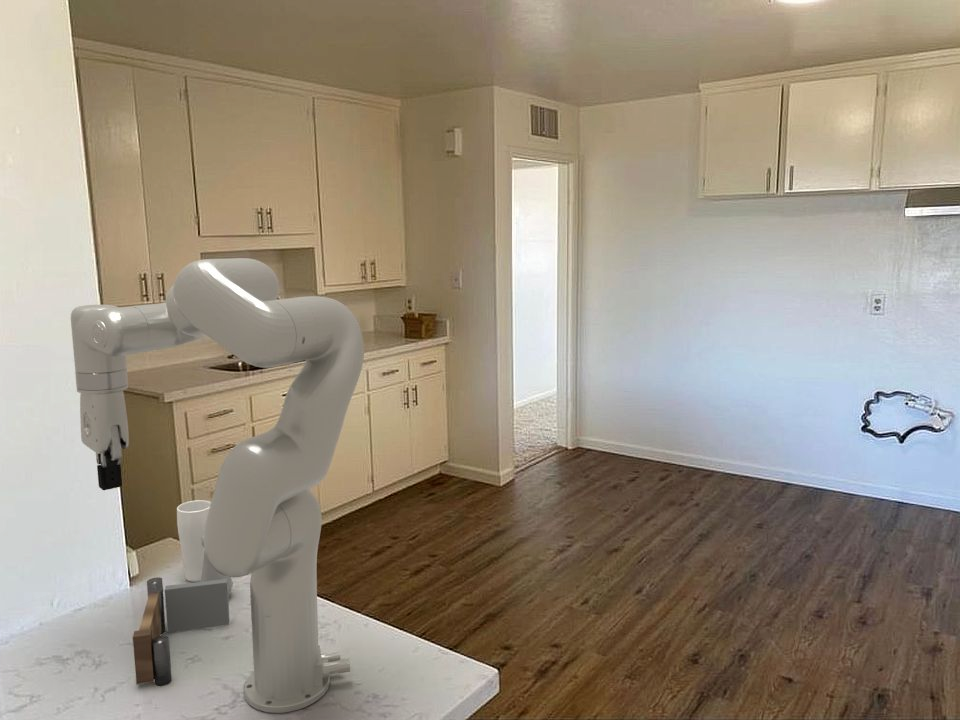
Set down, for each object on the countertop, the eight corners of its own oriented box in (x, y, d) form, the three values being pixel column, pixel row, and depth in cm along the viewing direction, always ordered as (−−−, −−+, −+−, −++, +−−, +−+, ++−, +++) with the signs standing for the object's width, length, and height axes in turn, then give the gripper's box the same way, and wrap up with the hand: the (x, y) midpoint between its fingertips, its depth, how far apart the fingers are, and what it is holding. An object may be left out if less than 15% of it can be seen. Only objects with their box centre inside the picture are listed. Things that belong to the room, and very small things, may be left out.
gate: (149, 633, 123) (146, 591, 122) (164, 631, 124) (161, 589, 122) (136, 684, 109) (132, 637, 108) (153, 681, 110) (150, 634, 108)
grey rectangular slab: (229, 620, 129) (227, 578, 127) (228, 624, 127) (226, 582, 126) (168, 628, 126) (165, 585, 125) (167, 633, 125) (164, 589, 123)
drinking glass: (204, 586, 141) (200, 513, 139) (173, 583, 143) (168, 510, 140) (223, 571, 148) (219, 501, 145) (193, 567, 149) (189, 498, 147)
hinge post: (166, 627, 126) (163, 576, 125) (164, 634, 124) (161, 583, 123) (151, 629, 126) (147, 578, 124) (149, 636, 123) (145, 584, 122)
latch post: (172, 675, 113) (169, 634, 111) (170, 685, 110) (167, 642, 109) (155, 678, 112) (152, 636, 111) (153, 687, 110) (150, 645, 108)
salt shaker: (239, 595, 138) (236, 531, 136) (214, 608, 133) (210, 541, 131) (219, 587, 141) (216, 524, 139) (194, 600, 136) (190, 534, 134)
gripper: (64, 376, 122) (73, 481, 125) (91, 390, 111) (100, 504, 114) (111, 371, 127) (119, 472, 130) (142, 384, 116) (149, 493, 119)
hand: (110, 487), depth 122 cm, fingers closed
